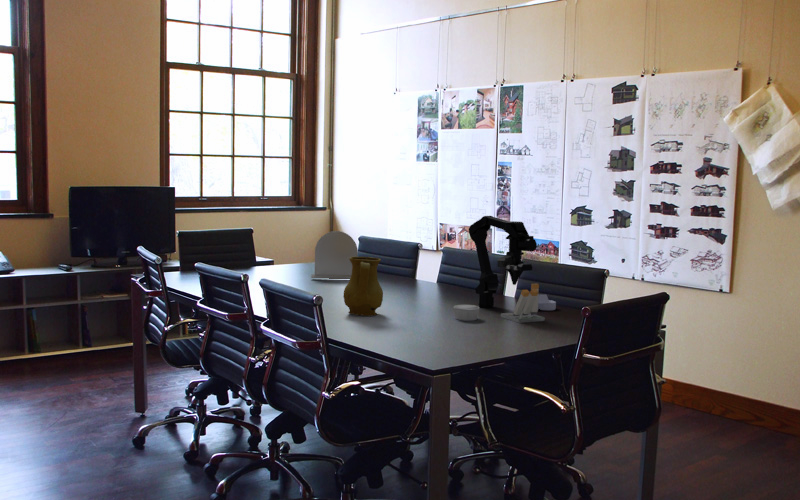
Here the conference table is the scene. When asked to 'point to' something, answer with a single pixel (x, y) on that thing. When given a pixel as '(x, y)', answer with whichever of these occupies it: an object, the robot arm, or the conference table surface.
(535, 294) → the grey long bar piece
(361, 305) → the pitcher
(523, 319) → the panel
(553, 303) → the wedge on round base
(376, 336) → the conference table surface
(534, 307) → the tripped breaker
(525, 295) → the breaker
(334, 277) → the award
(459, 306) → the ramekin
